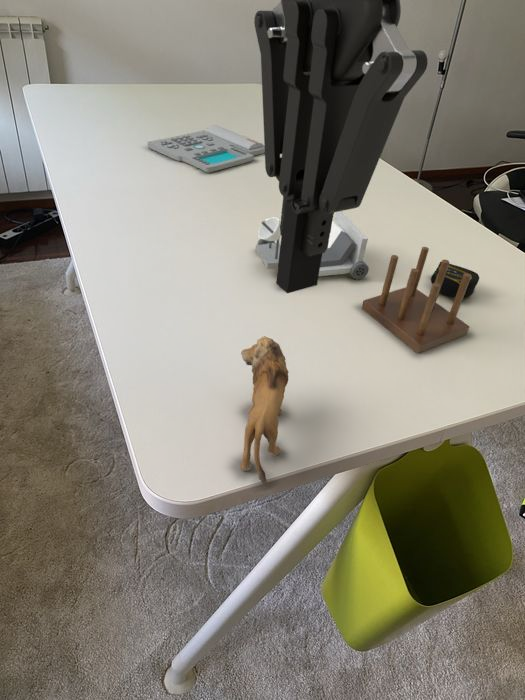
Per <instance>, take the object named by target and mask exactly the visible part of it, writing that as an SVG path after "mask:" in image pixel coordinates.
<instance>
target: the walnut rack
mask: <svg viewBox="0 0 525 700" xmlns="http://www.w3.org/2000/svg"><path fill="white" fill-rule="evenodd" d="M429 249H430V248H429V247H427V246H422V247H421V250H420V254H419V257H418V261H417V262H416V263H417V264H416V267H415V268H411V269H410V271H409V276H408V279H407V282H406V285H405V287H403V288H399V289H396V290H393V291H390V290H391V287H392V284H393V279H394V275H395V272H396V269H397V265H398V261H399V256H398V255H396V254H392V255H391V256H390V259H389V263H388V267H387V271H386V275H385V279H384V282H383V286H382V290H381V294H380V295H376V296H373V297H370V298H366V299H364V300H363V302H362V305H361V309H362V310H363V311H364V312H365V313H367V314H368V315H369V316H370V317H372V318H373V319H374V320H375V321H377V322H378V323H379V324H380V325H382V326H383V327H384V328H385V329H386V330H388V331H389V332H390V333H391V334H392V335H394V336H395V337H396V338H398V339H399V340H400V341H401V342H402V343H404V344H405V345H406V346H407V347H409V348H410V349H411V350H412V351H414V352H415V354H421V353H422V352H425V351H427V350H430V349H433V348H436V347H439V346H441V345H443V344H446V343H448V342H451V341H453V340H456V339H460V338H462V337H464V336H466V335H467V334H468V332H469V330H470V328H471V327H470V325H468V324H467V323H466V322H464V321H463V320H461V319H460V318H459V317H457V316H458V312H459V310H460V308H461V305H462V302H463V300H464V299H463V297H464V294H465V292H466V289H467V286H468V284H469V281H470V278H471V275H470V274H468V273H465V274H464V275H463V278H462V281H461V283H460V286H459V289H458V292H457V294H456V297H455V299H454V301H453V303H452V305H451V308H450V311H449V310H447V308H445V307H443V306H442V305H440V304H439V303H437V300H438V297H439V295H440V294H439V292H440V289H441V286H442V283H443V280H444V277H445V274H446V271H447V268H448V265H449V264H450V261H449V260H448V259H442V260H441V261H442V263H441V266H440V269H439V272H438V275H437V278H436V281H435V283H433V284H432V283H431V288H430V291H429V294H428V296H427V295H426V294H424V293H423V292H422V291H420V290H419V289H418V286H419V284H420V283H419V282H420V280H421V277H422V275H423V274H422V273H423V270H424V267H425V263H426V262H427V261H426V260H427V258H428V254H429Z"/></svg>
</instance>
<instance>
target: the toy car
mask: <svg viewBox="0 0 525 700" xmlns="http://www.w3.org/2000/svg"><path fill="white" fill-rule="evenodd" d="M280 222H281V219H280V218H279V217H276V216H274V217H268V218H265V220H262V222H261V225H260V227H259V228H258V231H257V237H258V238H259V240H258V241H257V243H256V245H255V252H256V254H257V256H258V257H259V258H260V260H261V262H262V263H263V265H264V267H265V268H266V269H267V270H272V269H273V270H274V269H278V262H279V253H280V245H281V241H280V240H281V233H280ZM329 235H330V237H329V243H328V248H327V250H326V251H325V253H322V258H321V264H320V270H319V276H318V277H324V276H325V277H327V276H335V275H343V274H344V275H345V274H349V275H350V276H351V277H352V279H354V280H357V281H358V280H359V281H360V280H362V279H364V278H366V276H368V273H369V271H370V267H369V265H368V264H367V263H366V262H365V261H364V259H365V253H366V250H367V246H368V241H369V237H367V235H365V234H364V232H362V231H361V229H359V228H358V226H357V225H356V224H355V223H354V222H353V221H352V220H351V219H350V218H349V217H348V216H347V215H346V214H345V213H344V211H339V212H335V216H334V219H333V220H332V226H331V232H330V234H329Z"/></svg>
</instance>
